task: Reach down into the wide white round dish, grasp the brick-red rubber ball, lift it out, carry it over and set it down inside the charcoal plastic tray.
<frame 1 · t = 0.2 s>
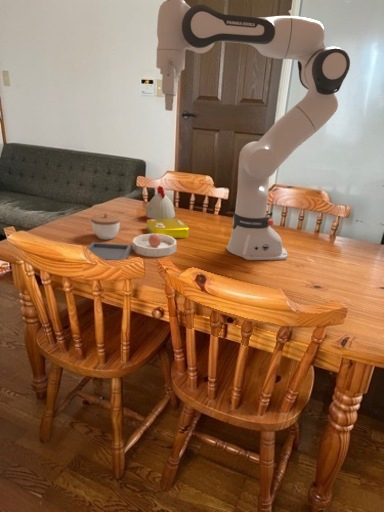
hand: (169, 110, 114), 47 cm above the table, fingers open, 8 cm apart
white chicken figure: (160, 218, 164), on the table
white round dish: (154, 248, 128), on the table
ball: (154, 240, 127), point 3 cm above the table, touching white round dish
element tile: (167, 234, 146), on the table
lidded jar: (106, 237, 137), on the table
tray: (107, 256, 119), on the table
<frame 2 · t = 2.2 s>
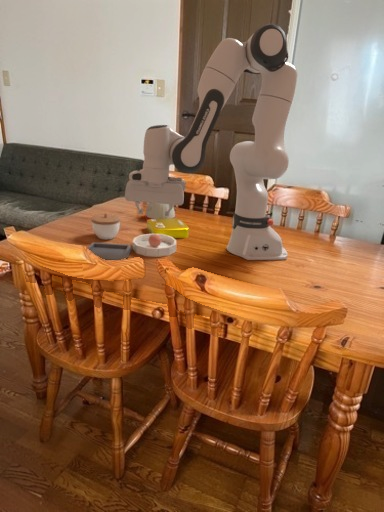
hand: (153, 215, 123), 13 cm above the table, fingers open, 8 cm apart
nothing on the table moved.
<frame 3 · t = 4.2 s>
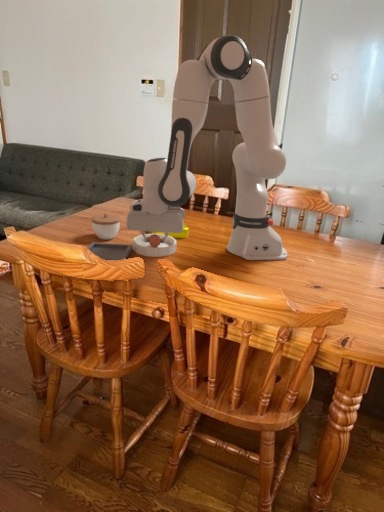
hand: (154, 242, 127), 2 cm above the table, fingers closed on ball, 5 cm apart
ball: (154, 240, 127), point 3 cm above the table, touching gripper, white round dish
everything else where it was.
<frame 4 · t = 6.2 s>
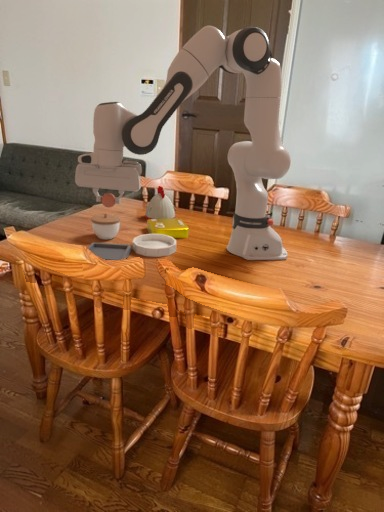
hand: (108, 202, 113), 19 cm above the table, fingers closed on ball, 5 cm apart
ball: (108, 200, 112), point 19 cm above the table, touching gripper
everything else where it was.
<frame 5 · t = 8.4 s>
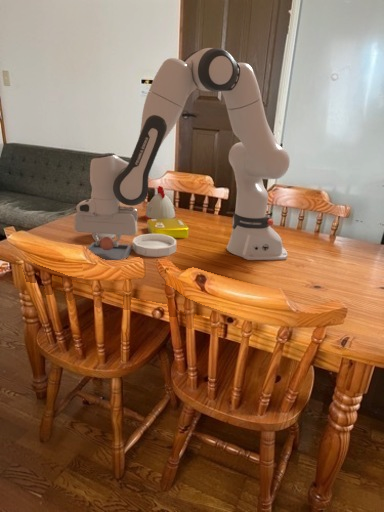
hand: (107, 245, 117), 4 cm above the table, fingers closed on ball, 4 cm apart
ball: (107, 243, 117), point 5 cm above the table, touching gripper
everything else where it was.
when the fingers open (4 cm above the table, at t = 8.7 s): ball drops 2 cm and tips over, resting on tray.
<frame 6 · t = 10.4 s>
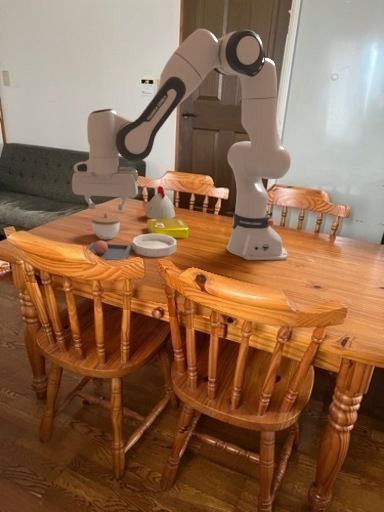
hand: (106, 209, 113), 16 cm above the table, fingers open, 8 cm apart
ball: (100, 247, 118), point 3 cm above the table, tilted 55°, touching tray
everything else where it was.
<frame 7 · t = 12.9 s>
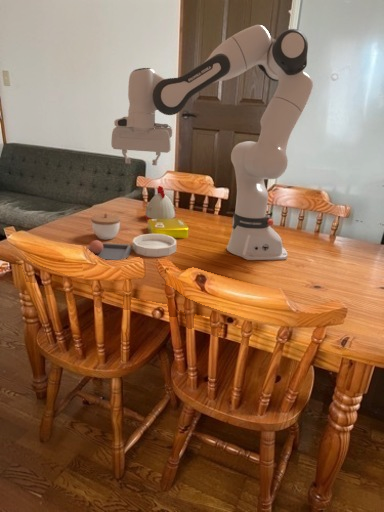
hand: (141, 164, 123), 29 cm above the table, fingers open, 8 cm apart
ball: (96, 247, 118), point 3 cm above the table, tilted 93°, touching tray
everything else where it was.
at the end: ball inside the target area on the tray (3.5 cm from its centre), point 3.1 cm above the tray's base; the gripper is holding nothing; ball touching tray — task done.
